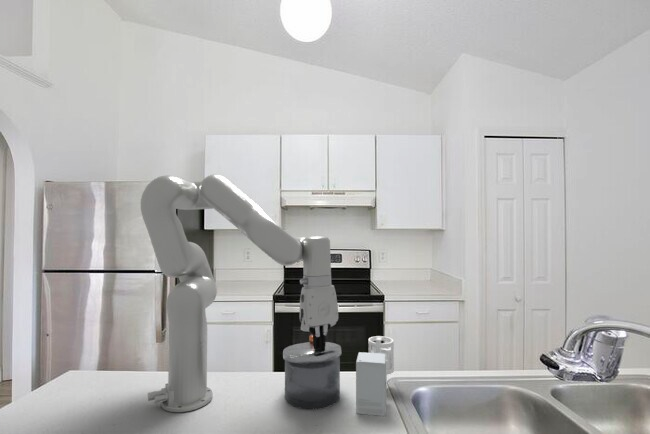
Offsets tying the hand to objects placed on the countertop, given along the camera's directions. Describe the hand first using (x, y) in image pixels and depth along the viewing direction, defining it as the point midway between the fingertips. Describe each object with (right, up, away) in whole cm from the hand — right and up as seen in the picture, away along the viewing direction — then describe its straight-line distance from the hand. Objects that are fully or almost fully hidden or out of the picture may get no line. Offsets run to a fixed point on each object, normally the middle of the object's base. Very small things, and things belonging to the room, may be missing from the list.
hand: (319, 349), depth 91 cm
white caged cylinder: (+17, -13, +4) cm, 22 cm away
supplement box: (+13, -13, -6) cm, 19 cm away
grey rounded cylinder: (-2, -13, +1) cm, 13 cm away
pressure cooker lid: (-2, -2, +2) cm, 3 cm away
